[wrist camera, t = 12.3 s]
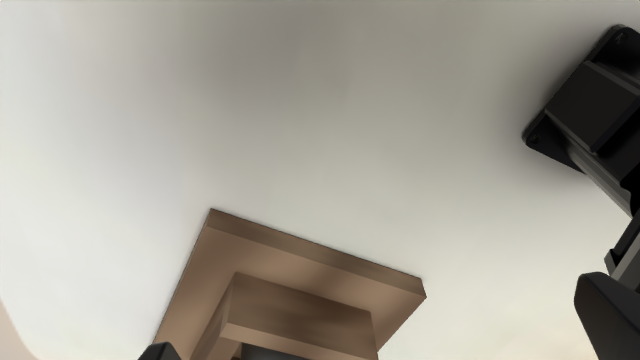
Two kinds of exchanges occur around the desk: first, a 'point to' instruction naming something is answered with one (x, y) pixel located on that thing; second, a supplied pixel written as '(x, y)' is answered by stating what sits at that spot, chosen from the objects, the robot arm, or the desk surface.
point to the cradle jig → (282, 297)
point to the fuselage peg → (265, 354)
